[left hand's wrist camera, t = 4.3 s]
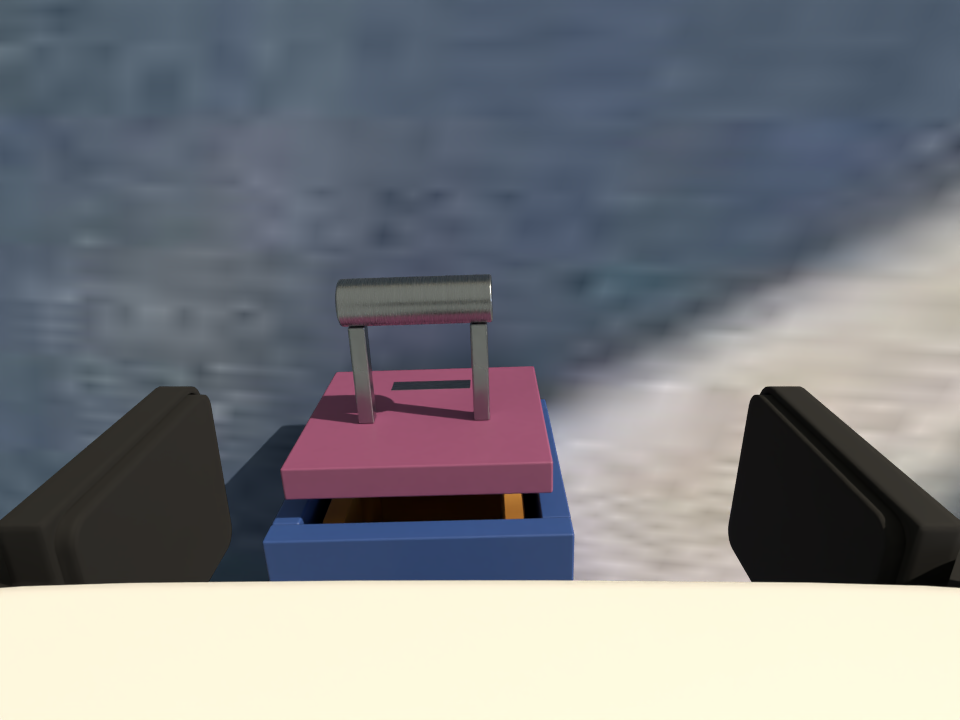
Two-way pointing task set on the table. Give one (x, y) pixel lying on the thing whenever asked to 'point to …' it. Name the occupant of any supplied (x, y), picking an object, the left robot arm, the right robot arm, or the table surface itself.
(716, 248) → the table surface
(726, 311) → the table surface
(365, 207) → the table surface
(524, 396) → the drawer
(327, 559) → the blue drawer casing
